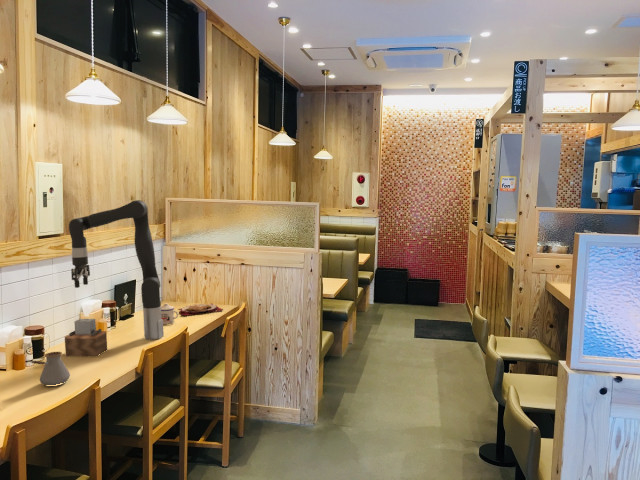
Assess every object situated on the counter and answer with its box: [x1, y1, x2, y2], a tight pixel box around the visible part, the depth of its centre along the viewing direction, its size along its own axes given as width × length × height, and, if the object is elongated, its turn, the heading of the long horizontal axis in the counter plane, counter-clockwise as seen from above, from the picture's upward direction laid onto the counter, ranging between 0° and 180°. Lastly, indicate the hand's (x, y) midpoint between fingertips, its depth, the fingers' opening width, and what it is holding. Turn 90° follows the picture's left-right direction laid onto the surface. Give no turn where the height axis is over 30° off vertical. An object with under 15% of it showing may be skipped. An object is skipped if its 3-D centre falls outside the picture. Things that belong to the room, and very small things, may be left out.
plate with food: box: [177, 303, 224, 316], centre depth 340 cm, size 25×26×4 cm
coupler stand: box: [64, 328, 108, 357], centre depth 253 cm, size 16×10×11 cm, turn 86°
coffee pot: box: [30, 351, 71, 386], centre depth 209 cm, size 21×12×15 cm, turn 178°
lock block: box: [74, 318, 97, 335], centre depth 252 cm, size 8×5×7 cm, turn 86°
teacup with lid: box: [161, 302, 179, 325], centre depth 309 cm, size 12×9×12 cm
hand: (81, 286), depth 271 cm, fingers open, 8 cm apart
